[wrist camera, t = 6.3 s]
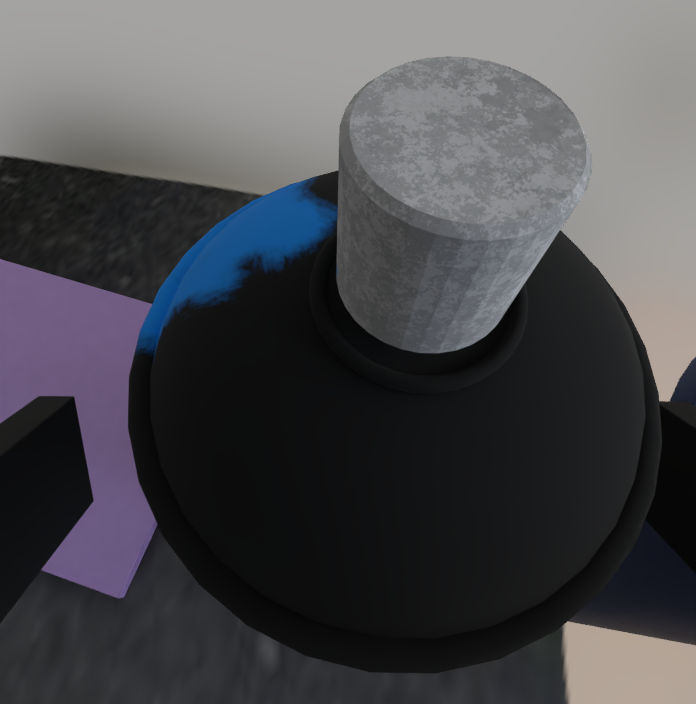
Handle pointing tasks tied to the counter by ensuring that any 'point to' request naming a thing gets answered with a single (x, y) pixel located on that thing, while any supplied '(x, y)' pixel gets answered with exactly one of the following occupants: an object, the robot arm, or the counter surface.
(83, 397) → the towel
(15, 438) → the robot arm
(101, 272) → the counter surface
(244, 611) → the aerosol can
